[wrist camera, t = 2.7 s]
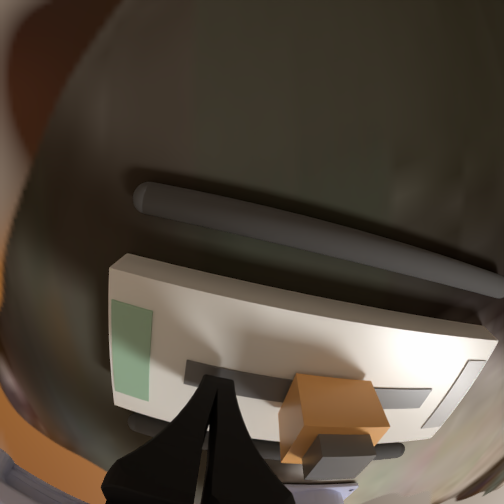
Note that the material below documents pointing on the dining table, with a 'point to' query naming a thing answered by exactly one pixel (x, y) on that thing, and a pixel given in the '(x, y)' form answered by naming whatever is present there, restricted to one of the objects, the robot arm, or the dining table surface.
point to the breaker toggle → (330, 426)
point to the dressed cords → (311, 239)
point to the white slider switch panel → (278, 348)
